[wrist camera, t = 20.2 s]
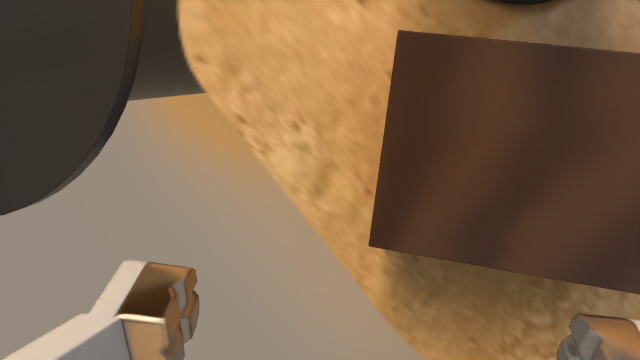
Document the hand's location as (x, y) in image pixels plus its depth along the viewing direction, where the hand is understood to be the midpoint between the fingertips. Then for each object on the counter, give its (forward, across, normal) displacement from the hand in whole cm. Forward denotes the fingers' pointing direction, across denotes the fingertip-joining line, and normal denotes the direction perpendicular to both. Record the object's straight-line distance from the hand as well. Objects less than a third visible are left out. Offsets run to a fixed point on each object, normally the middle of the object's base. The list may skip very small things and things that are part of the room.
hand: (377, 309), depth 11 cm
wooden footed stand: (+21, +9, -6) cm, 24 cm away
